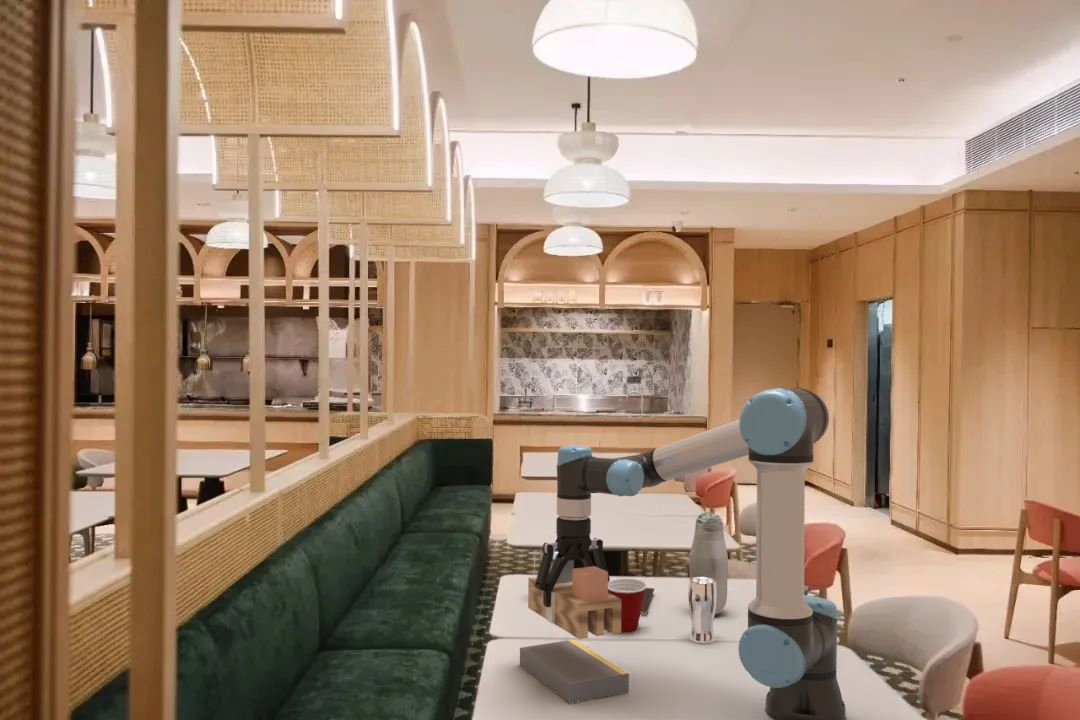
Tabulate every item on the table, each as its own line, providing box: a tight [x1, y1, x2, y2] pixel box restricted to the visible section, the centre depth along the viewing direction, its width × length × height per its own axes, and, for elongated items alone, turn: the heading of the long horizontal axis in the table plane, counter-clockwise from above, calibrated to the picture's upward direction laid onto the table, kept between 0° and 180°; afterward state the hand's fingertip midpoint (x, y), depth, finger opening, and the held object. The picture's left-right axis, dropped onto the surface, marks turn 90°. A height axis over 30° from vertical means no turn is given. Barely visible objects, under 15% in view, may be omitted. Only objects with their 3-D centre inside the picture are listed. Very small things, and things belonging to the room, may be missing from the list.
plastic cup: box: [608, 577, 648, 633], centre depth 221 cm, size 11×11×12 cm
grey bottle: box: [689, 511, 729, 616], centre depth 236 cm, size 10×10×28 cm
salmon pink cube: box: [572, 565, 609, 601], centre depth 180 cm, size 6×6×6 cm
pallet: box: [527, 575, 622, 640], centre depth 187 cm, size 24×10×7 cm, turn 26°
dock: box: [519, 639, 630, 704], centre depth 187 cm, size 24×15×4 cm, turn 26°
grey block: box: [540, 553, 575, 584], centre depth 194 cm, size 6×6×6 cm
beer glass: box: [687, 577, 717, 645], centre depth 214 cm, size 7×7×15 cm
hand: (572, 618), depth 187 cm, fingers closed on pallet, 10 cm apart
